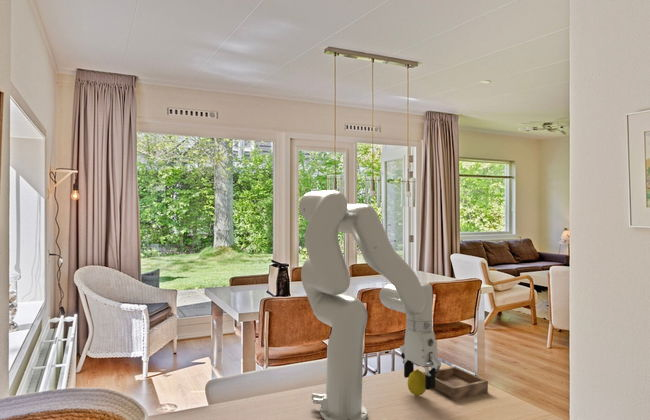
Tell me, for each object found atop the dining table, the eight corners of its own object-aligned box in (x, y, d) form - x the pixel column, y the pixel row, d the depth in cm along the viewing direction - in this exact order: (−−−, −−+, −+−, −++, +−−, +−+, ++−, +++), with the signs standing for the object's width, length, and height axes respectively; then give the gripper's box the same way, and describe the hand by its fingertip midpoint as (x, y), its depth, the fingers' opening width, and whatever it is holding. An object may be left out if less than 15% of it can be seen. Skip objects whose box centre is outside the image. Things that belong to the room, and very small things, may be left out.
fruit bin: (452, 400, 129) (453, 388, 129) (421, 383, 141) (421, 372, 141) (487, 392, 136) (487, 381, 136) (454, 376, 148) (454, 366, 148)
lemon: (426, 401, 128) (427, 373, 128) (407, 399, 129) (407, 371, 129) (426, 394, 133) (426, 367, 133) (407, 392, 134) (408, 365, 135)
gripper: (449, 330, 125) (449, 390, 126) (410, 316, 141) (410, 370, 141) (429, 334, 122) (428, 396, 122) (391, 319, 137) (391, 374, 138)
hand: (419, 382), depth 132 cm, fingers open, 9 cm apart
